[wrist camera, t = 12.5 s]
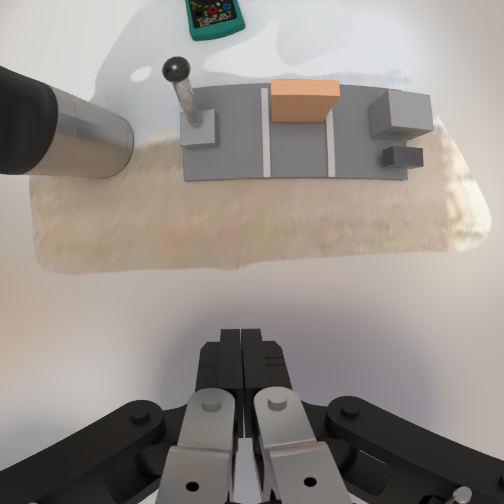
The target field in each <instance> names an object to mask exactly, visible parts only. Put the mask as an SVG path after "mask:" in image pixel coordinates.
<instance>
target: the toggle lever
mask: <svg viewBox="0 0 504 504" xmlns="http://www.w3.org/2000/svg"><path fill="white" fill-rule="evenodd" d="M162 73H163V76H164V78H165V79H166V80H167V81H169V82H172V84H173V87H174V89H175V92H176V94H177V97H178V99H179V102H180V104H181V107H182V109H183V112H184V114H185V117H186V119H187V122H188V123H189V124H190V125H192V126H196V125H198V124H199V123H200V122H201V115H200V112H199V109H198V106H197V103H196V100H195V97H194V94H193V91H192V88H191V85H190V82H189V79H188V76H189V74H190V64H189V62H188V61H187V60H186V59H184V58H182V57H172V58H170V59H168V60H167V61H166V62H165V63H164V65H163V68H162Z"/></svg>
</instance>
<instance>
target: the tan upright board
mask: <svg viewBox="0 0 504 504" xmlns="http://www.w3.org/2000/svg"><path fill="white" fill-rule="evenodd" d="M339 97H340V89H339V81H333V80H302V79H278V80H271V98H272V122H323V121H324V119H325V118H326V116H327V115H328V113H329V112H330V110H331V109H332V107H333V106H334V104H335V103H336V101H337V100H338V98H339Z"/></svg>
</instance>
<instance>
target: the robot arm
mask: <svg viewBox="0 0 504 504" xmlns="http://www.w3.org/2000/svg"><path fill="white" fill-rule="evenodd" d="M133 143H134V139H133V133H132V129H131V127H130V125H129V124H128V122H127V121H126V120H125V119H123V118H122V117H120V116H118V115H116V114H114V113H112V112H109V111H107V110H105V109H103V108H101V107H99V106H96V105H94V104H92V103H90V102H87V101H85V100H83V99H81V98H78V97H76V96H73V95H71V94H69V93H67V92H64V91H61V90H59V89H57V88H54V87H51V86H49V85H47V84H45V83H42V82H40V81H37V80H34V79H32V78H29V77H26V76H23V75H21V74H18V73H15V72H13V71H11V70H8V69H6V68H4V67H2V66H0V174H7V175H49V176H72V177H88V178H108V177H111V176H113V175H115V174H117V173H118V172H119V171H121V170H122V169H123V168H124V166H125V165H126V164H127V162H128V160H129V158H130V156H131V154H132V150H133ZM243 407H244V423H245V437H246V438H252V442H253V461H254V466H255V471H256V476H257V481H258V486H259V490H260V496H261V503H259V504H355V503H352V500H351V498H350V496H349V494H348V492H350V493H351V494H353V495H355V496H356V497H358V498H360V499H362V500H363V501H365V502H367V503H369V504H504V461H503V460H500V459H497V458H495V457H492V456H489V455H486V454H483V453H481V452H479V451H476V450H474V449H471V448H469V447H466V446H463V445H461V444H459V443H457V442H454V441H452V440H449V439H447V438H445V437H442V436H440V435H438V434H435V433H433V432H431V431H428V430H426V429H424V428H422V427H420V426H417V425H415V424H413V423H411V422H409V421H407V420H404V419H402V418H400V417H398V416H396V415H394V414H392V413H389V412H387V411H385V410H383V409H381V408H379V407H377V406H375V405H373V404H371V403H369V402H367V401H365V400H363V399H361V398H358V397H353V396H342V397H338V398H336V399H334V400H333V401H331V402H330V404H329V405H328V407H325V406H317V405H311V404H308V403H305V402H303V401H301V400H300V398H299V396H298V395H297V394H296V393H295V392H294V391H293V390H292V387H291V383H290V378H289V375H288V371H287V367H286V363H285V359H284V355H283V351H282V348H281V347H280V346H279V345H278V344H277V343H276V342H275V341H262V336H261V330H260V329H241V343H240V329H221V336H220V342H207V343H206V344H205V345H204V346H203V347H202V349H201V350H200V360H199V367H198V374H197V381H196V389H195V393H194V394H193V395H192V396H191V397H190V398H189V401H188V403H187V404H186V405H184V406H182V407H179V408H175V409H170V410H164V411H162V409H161V408H160V406H159V405H157V404H156V403H153V402H151V401H147V400H136V401H132V402H129V403H127V404H125V405H123V406H121V407H120V408H118V409H116V410H115V411H113V412H111V413H110V414H108V415H106V416H104V417H103V418H101V419H99V420H97V421H96V422H94V423H92V424H90V425H88V426H87V427H85V428H83V429H81V430H80V431H78V432H76V433H74V434H72V435H70V436H68V437H67V438H65V439H63V440H61V441H59V442H57V443H55V444H54V445H52V446H50V447H48V448H46V449H44V450H42V451H40V452H38V453H36V454H35V455H32V456H30V457H28V458H26V459H24V460H23V461H20V462H18V463H16V464H14V465H12V466H10V467H8V468H6V469H4V470H2V471H0V504H138V503H139V502H141V501H142V500H144V499H145V498H146V497H148V496H149V495H150V494H152V493H153V492H154V491H156V490H157V489H158V488H159V490H158V494H157V498H156V502H155V504H240V503H235V502H234V488H235V473H236V453H237V451H238V438H243ZM360 450H361V451H363V452H365V453H367V454H368V455H367V454H365V453H363V452H361V451H360ZM369 455H370V456H369ZM371 456H372V457H371ZM373 457H374V458H376V459H378V460H380V461H381V462H380V461H378V460H376V459H374V458H373ZM382 462H384V463H385V464H384V463H382ZM386 464H387V465H386Z"/></svg>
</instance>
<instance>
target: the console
mask: <svg viewBox="0 0 504 504" xmlns="http://www.w3.org/2000/svg"><path fill="white" fill-rule="evenodd" d="M339 89H340V97H339V98H338V100H337V101H336V103H335V104H334V106H333V107H332V109H331V110H330V112H329V113H328V115H327V116H326V118H325V119H324V121H323V122H272V98H271V83H264V84H241V85H226V86H213V87H202V88H193V89H192V91H193V94H194V97H195V100H196V103H197V106H198V109H199V112H200V115H201V122H200V123H199V124H198V125H196V126H192V125H190V124H189V123H188V122H187V119H186V117H185V114H184V112H181V113H180V145H181V146H183V162H184V181H202V180H223V179H251V178H362V179H389V180H408V177H407V168H392V167H383V150H384V149H387V148H389V147H392V146H402V147H406V141H408V140H410V139H413V138H415V137H418V136H421V135H423V134H426V133H428V132H431V131H434V129H433V119H432V110H431V101H430V95H425V94H419V93H412V92H405V91H401V90H395V89H387V88H377V87H367V86H355V85H340V84H339Z"/></svg>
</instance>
